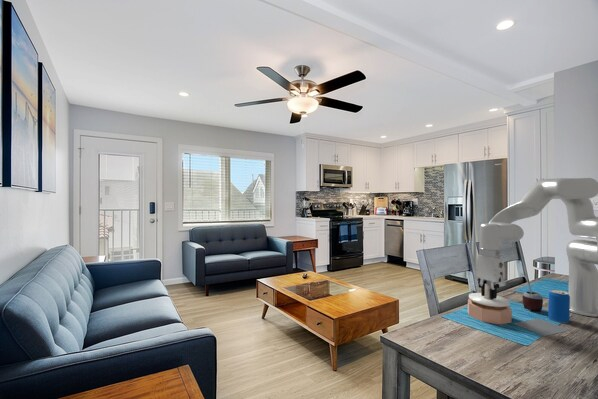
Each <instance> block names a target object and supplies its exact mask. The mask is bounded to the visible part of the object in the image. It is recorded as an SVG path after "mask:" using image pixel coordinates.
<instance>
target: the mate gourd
mask: <svg viewBox="0 0 598 399" xmlns="http://www.w3.org/2000/svg"><path fill="white" fill-rule="evenodd" d="M522 276H524V278H525V279H526V283H527V285H528V290H529V291H525V292H524V293H523V294H522V299H521V300H522V304H523V308H524V309H526V310H529V311H530V312H531V313H532V312H534V311H535V312H539V313H541V311H542V308H543V307H544V306H543V303H544V300H543V296H542V295H541V294H540V293H538V292H536V291H532V289H531V288H532V287H531V285H530V280H529V279H528V277H527V276H526V274H522Z"/></svg>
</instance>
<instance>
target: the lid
mask: <svg viewBox="0 0 598 399" xmlns="http://www.w3.org/2000/svg"><path fill="white" fill-rule="evenodd" d="M490 289H491V282H487V283H485V294H484V296H482V295H481V292H471V293H469V294H468V299H470V300H472V301H474V302H476V303H479V304H483V305H488V306H494V307H506V306H510V299H507V298H506V297H503V296H500V295H497V297H496V299H490Z"/></svg>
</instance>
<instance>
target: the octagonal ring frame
mask: <svg viewBox="0 0 598 399" xmlns="http://www.w3.org/2000/svg"><path fill="white" fill-rule="evenodd" d="M481 307H487V308H489V309H484V308H481ZM512 313H513V310H512V308H511V307H510V305H509V306H506V307H494V306H488V305H483V304H479V303H476V302H474V301H472V300H470V299H469V298H468V299H467V314H468V316H469V317H471V318H473V319H475V320H478V321H480V322H484V323H489V324H490V323H491V324H496V325H506V324H510V323H512V322H513V321H512V315H513V314H512Z"/></svg>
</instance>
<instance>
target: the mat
mask: <svg viewBox="0 0 598 399" xmlns="http://www.w3.org/2000/svg"><path fill="white" fill-rule="evenodd" d="M513 325H516V326H518V327H521V328H524V329H525V330H528V331H531V332H533V333H536V334H538V335H540V336H543V337H546V336H547V337H548V336H551V335H552V336H553V335H555V334H560V333H564V332H565V333H566V332H568V331H571V329H569V328H567V327H564V326H561V325H558V324H555V323H553V322H550V321H547V320H544V319H541V318H539V317H538V318H533V319H528V320H523V321H519V322H515V323H513Z"/></svg>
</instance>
